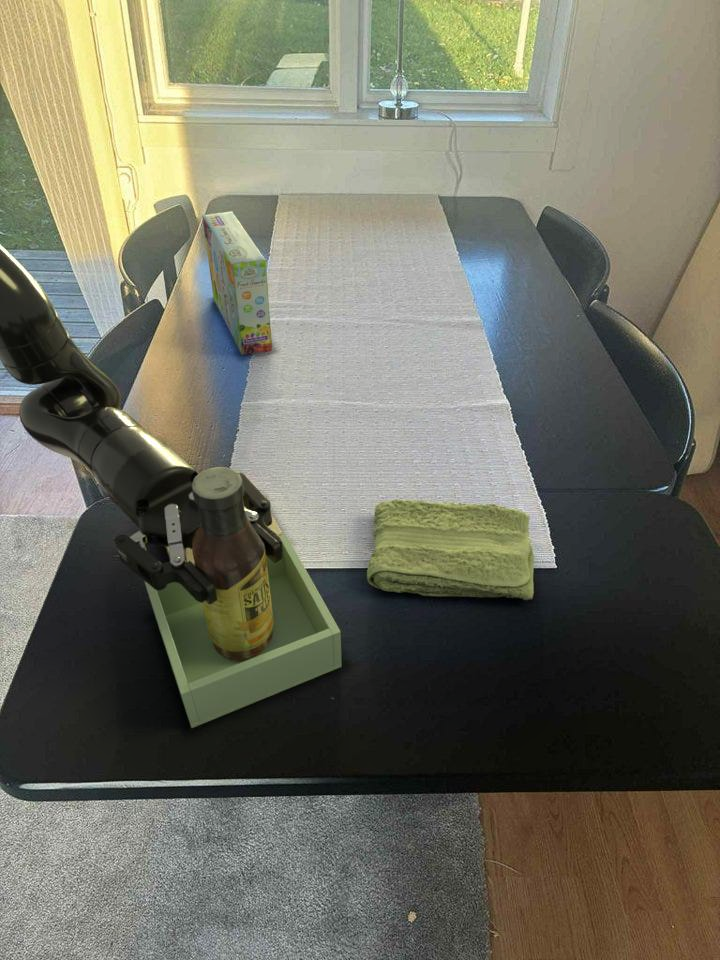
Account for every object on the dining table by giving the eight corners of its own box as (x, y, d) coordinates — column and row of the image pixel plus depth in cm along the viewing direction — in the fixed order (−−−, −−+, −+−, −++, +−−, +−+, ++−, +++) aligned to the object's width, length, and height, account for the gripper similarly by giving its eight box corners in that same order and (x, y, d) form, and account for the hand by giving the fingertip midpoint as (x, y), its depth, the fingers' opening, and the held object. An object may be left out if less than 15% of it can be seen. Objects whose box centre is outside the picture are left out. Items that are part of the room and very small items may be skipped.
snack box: (276, 351, 110) (267, 258, 100) (241, 358, 108) (229, 265, 98) (242, 293, 125) (232, 208, 115) (211, 299, 123) (198, 213, 113)
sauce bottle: (265, 668, 66) (242, 519, 52) (201, 659, 66) (162, 510, 53) (282, 612, 70) (265, 463, 57) (222, 604, 71) (191, 455, 58)
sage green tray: (191, 728, 62) (180, 694, 58) (155, 616, 71) (144, 581, 67) (341, 666, 66) (340, 631, 63) (289, 569, 76) (286, 534, 72)
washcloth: (536, 608, 72) (542, 588, 70) (365, 596, 73) (365, 575, 71) (526, 519, 81) (530, 498, 79) (374, 509, 83) (375, 489, 81)
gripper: (67, 483, 63) (165, 591, 53) (203, 418, 70) (310, 503, 61) (88, 541, 68) (181, 648, 58) (213, 474, 75) (313, 561, 66)
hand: (246, 574), depth 60 cm, fingers closed on sauce bottle, 6 cm apart
